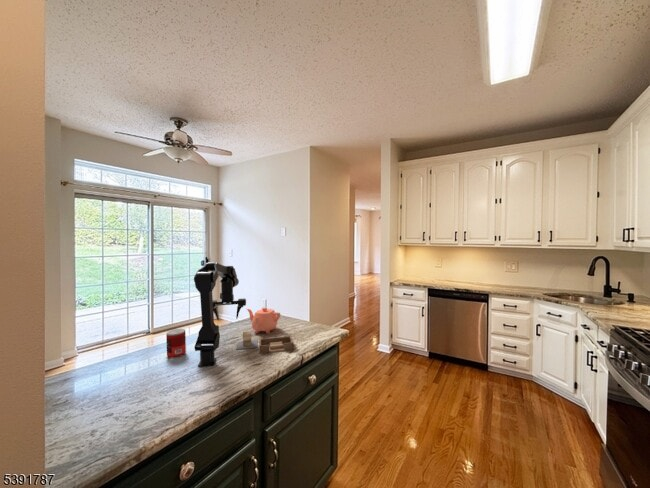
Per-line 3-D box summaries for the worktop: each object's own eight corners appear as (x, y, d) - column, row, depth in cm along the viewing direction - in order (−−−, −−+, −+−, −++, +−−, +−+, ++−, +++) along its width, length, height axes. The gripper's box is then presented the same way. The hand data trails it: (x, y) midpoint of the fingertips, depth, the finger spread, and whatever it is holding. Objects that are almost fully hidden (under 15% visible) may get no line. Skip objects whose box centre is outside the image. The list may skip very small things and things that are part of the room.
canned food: (189, 351, 131) (188, 328, 131) (178, 358, 123) (178, 334, 123) (174, 351, 132) (173, 328, 132) (163, 358, 124) (162, 334, 124)
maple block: (251, 345, 137) (251, 333, 137) (242, 346, 136) (242, 334, 136) (251, 342, 141) (251, 330, 141) (243, 343, 140) (243, 331, 140)
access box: (293, 349, 131) (293, 342, 131) (259, 353, 127) (259, 346, 127) (291, 342, 140) (291, 335, 140) (259, 345, 137) (259, 339, 137)
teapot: (256, 337, 150) (256, 312, 150) (246, 329, 164) (245, 307, 164) (282, 331, 159) (282, 308, 159) (271, 324, 173) (270, 303, 173)
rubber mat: (257, 347, 135) (257, 346, 135) (236, 349, 132) (236, 349, 132) (257, 340, 144) (257, 339, 144) (237, 342, 142) (237, 341, 142)
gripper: (246, 286, 153) (246, 314, 153) (210, 288, 148) (211, 316, 148) (245, 289, 142) (245, 319, 142) (207, 291, 137) (207, 322, 137)
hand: (227, 319), depth 143 cm, fingers open, 9 cm apart
